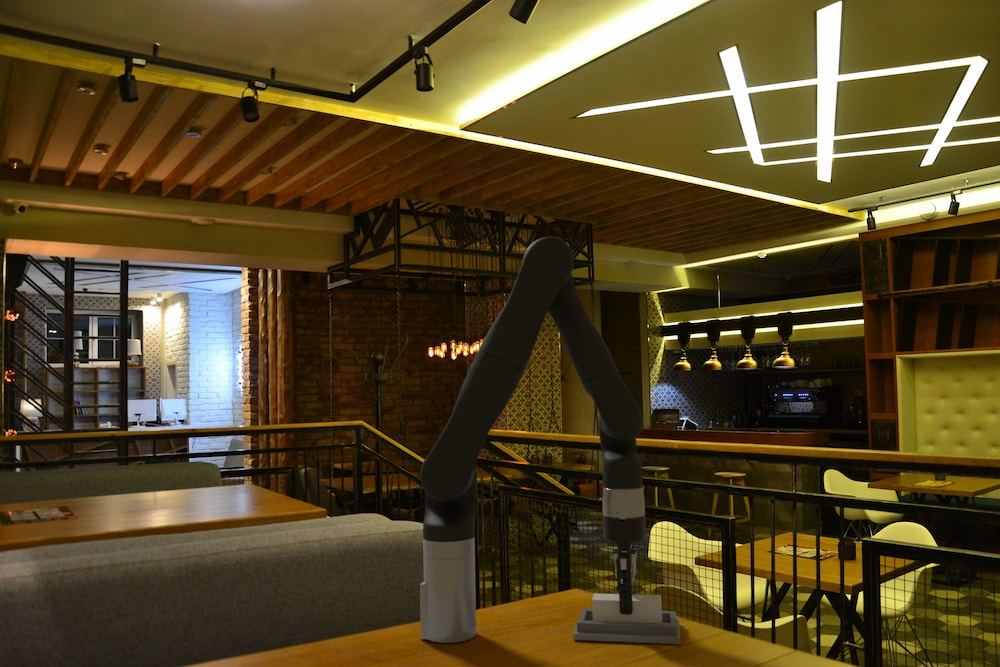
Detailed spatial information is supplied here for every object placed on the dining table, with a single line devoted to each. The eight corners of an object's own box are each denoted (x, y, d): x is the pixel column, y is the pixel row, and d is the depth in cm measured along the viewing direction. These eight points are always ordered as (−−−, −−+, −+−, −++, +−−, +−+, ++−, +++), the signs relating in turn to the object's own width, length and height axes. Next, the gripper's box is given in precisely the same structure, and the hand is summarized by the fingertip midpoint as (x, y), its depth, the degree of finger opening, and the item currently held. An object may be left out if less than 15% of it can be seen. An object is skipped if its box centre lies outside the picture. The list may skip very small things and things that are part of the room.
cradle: (680, 644, 130) (680, 628, 130) (573, 639, 133) (573, 624, 133) (678, 623, 141) (678, 609, 142) (580, 620, 145) (580, 606, 145)
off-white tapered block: (662, 631, 134) (661, 601, 134) (593, 628, 136) (591, 599, 137) (662, 623, 138) (661, 594, 139) (595, 621, 141) (594, 593, 141)
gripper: (605, 506, 147) (608, 598, 145) (599, 518, 133) (602, 620, 131) (645, 507, 145) (648, 599, 144) (644, 519, 131) (647, 622, 130)
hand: (626, 609), depth 138 cm, fingers open, 5 cm apart
